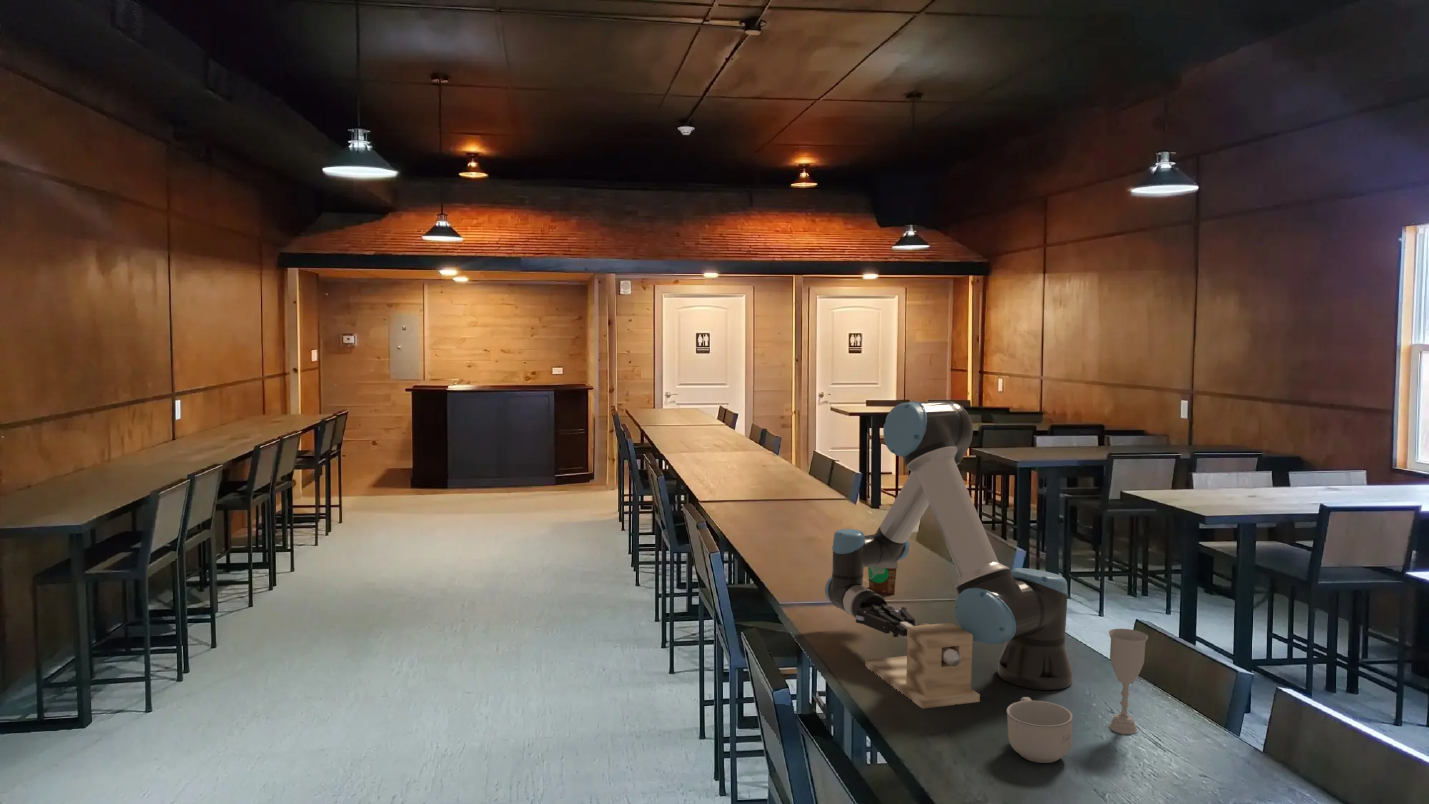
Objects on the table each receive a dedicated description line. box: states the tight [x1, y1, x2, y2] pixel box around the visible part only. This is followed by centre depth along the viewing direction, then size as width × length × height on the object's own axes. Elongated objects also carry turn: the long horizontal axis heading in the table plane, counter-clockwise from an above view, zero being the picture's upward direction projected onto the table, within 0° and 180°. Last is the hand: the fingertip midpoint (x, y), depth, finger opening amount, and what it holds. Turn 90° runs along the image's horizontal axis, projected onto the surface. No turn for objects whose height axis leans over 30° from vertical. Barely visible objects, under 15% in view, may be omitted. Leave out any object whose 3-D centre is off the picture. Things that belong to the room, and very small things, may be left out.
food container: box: [867, 561, 899, 596], centre depth 266 cm, size 12×6×10 cm, turn 17°
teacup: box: [1006, 696, 1073, 764], centre depth 164 cm, size 14×11×8 cm
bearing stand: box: [864, 622, 981, 709], centre depth 195 cm, size 24×13×14 cm, turn 18°
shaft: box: [916, 622, 961, 667], centre depth 189 cm, size 12×7×7 cm, turn 18°
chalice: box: [1107, 628, 1149, 735], centre depth 174 cm, size 7×7×18 cm
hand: (918, 637), depth 196 cm, fingers closed
